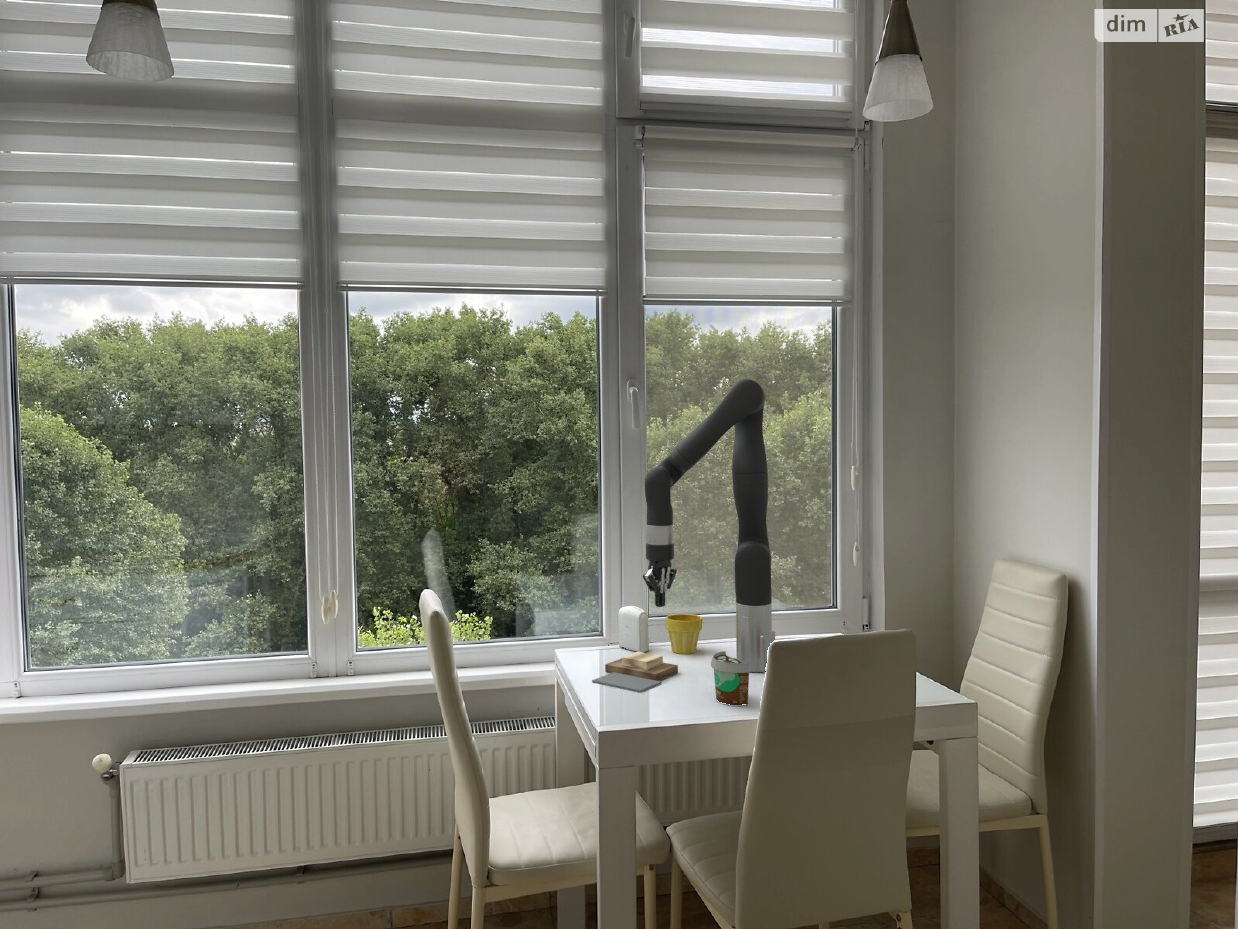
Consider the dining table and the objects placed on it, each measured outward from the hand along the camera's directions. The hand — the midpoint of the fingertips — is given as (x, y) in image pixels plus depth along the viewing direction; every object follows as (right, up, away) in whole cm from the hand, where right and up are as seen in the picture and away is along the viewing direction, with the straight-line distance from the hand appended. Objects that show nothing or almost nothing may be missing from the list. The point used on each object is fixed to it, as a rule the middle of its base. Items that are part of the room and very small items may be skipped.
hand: (660, 606), depth 229 cm
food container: (+14, -17, -31) cm, 38 cm away
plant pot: (+7, -15, +14) cm, 22 cm away
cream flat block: (-5, -14, -6) cm, 16 cm away
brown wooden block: (-5, -16, -7) cm, 18 cm away
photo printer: (-7, -15, +17) cm, 24 cm away
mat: (-9, -16, -16) cm, 24 cm away
